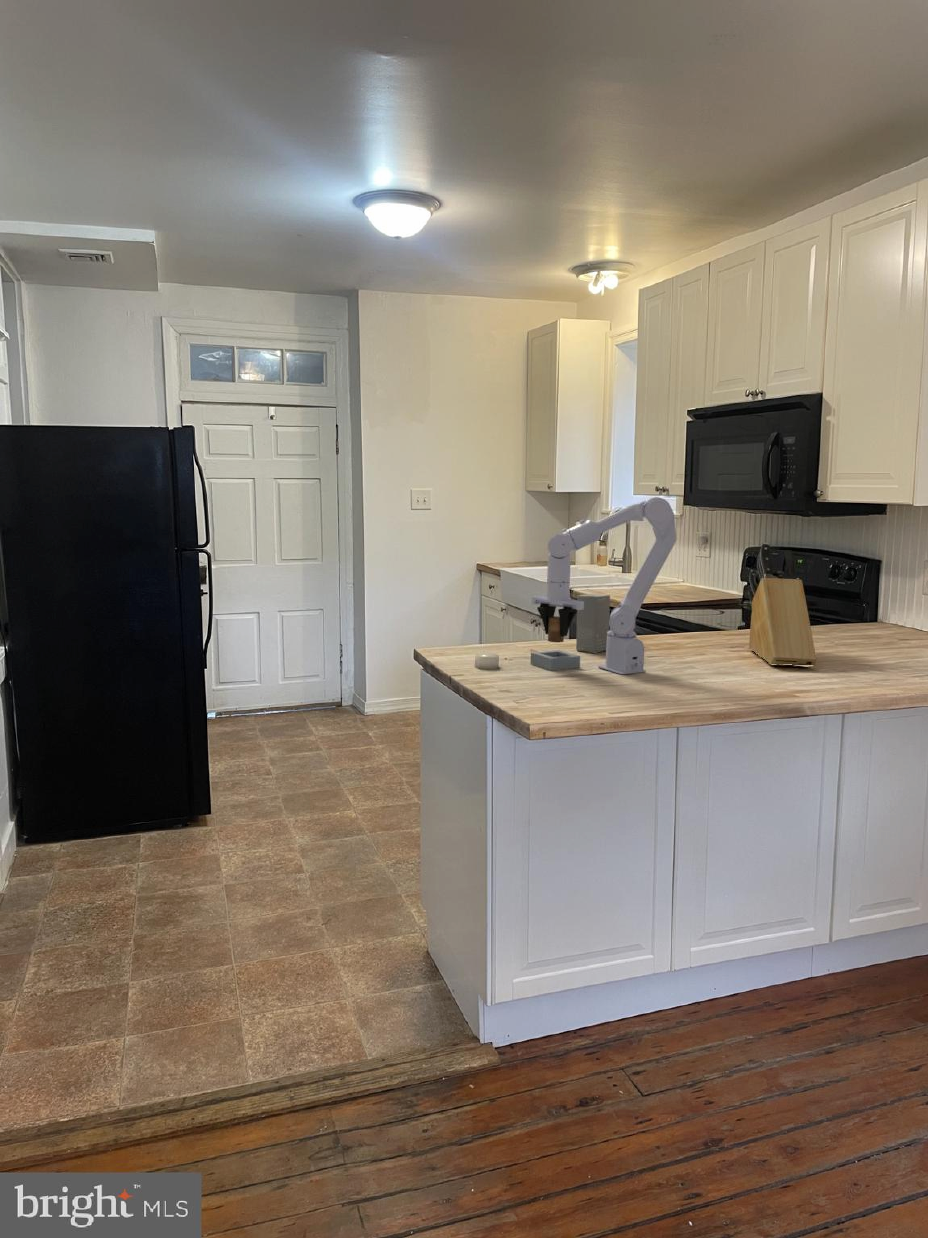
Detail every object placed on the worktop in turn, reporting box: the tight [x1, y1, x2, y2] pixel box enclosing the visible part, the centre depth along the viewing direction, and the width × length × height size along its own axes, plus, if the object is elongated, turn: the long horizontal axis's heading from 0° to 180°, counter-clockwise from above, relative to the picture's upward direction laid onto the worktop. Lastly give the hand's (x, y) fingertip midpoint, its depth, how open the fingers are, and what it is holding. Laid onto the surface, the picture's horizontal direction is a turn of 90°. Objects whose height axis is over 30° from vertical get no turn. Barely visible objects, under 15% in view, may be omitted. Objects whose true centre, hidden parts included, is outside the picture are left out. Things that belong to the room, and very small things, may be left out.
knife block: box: [748, 542, 817, 666], centre depth 245 cm, size 11×35×31 cm, turn 176°
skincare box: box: [575, 593, 611, 654], centre depth 250 cm, size 8×7×16 cm
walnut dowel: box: [547, 615, 565, 643], centre depth 227 cm, size 4×4×6 cm
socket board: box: [529, 649, 581, 671], centre depth 228 cm, size 9×9×3 cm
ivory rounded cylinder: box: [474, 652, 500, 670], centre depth 226 cm, size 6×6×3 cm
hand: (556, 634), depth 227 cm, fingers closed on walnut dowel, 4 cm apart
